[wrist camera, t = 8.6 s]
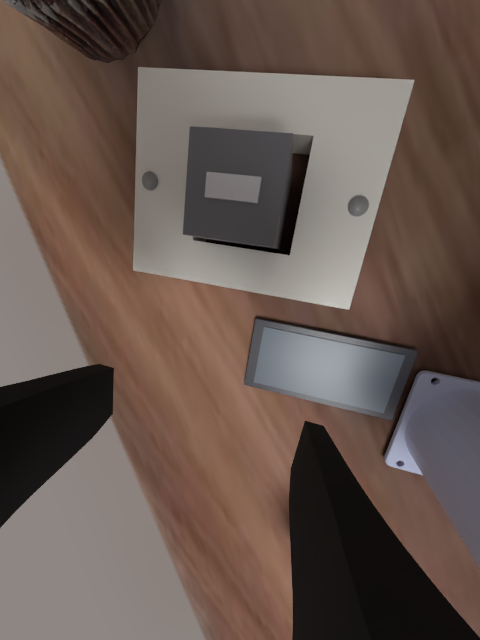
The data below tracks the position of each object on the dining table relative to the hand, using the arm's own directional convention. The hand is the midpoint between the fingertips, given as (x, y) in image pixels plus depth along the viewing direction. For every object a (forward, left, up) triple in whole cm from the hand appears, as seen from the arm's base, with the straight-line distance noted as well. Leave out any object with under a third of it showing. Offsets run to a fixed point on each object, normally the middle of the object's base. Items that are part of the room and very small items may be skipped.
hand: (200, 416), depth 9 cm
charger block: (+1, -8, -10) cm, 13 cm away
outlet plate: (+1, -9, -10) cm, 14 cm away
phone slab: (-6, +2, -11) cm, 13 cm away
